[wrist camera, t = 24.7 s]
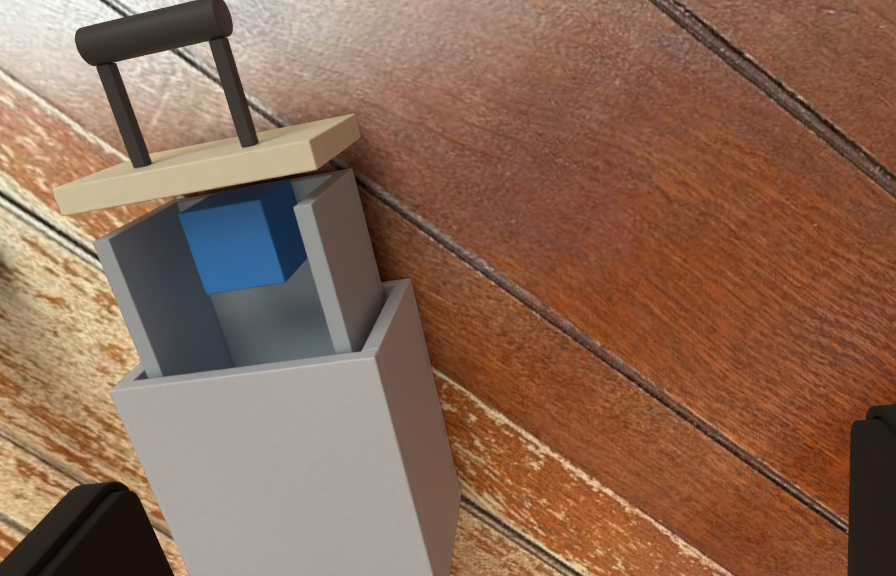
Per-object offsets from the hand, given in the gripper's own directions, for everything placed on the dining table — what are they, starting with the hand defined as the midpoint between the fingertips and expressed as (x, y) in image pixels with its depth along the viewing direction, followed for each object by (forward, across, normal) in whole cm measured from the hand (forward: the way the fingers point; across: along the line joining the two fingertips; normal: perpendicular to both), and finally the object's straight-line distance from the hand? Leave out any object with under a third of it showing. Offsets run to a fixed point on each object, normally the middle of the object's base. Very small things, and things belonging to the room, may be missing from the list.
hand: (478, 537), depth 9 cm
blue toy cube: (+24, +13, +1) cm, 28 cm away
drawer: (+25, +13, 0) cm, 29 cm away
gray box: (+26, +13, +13) cm, 32 cm away
